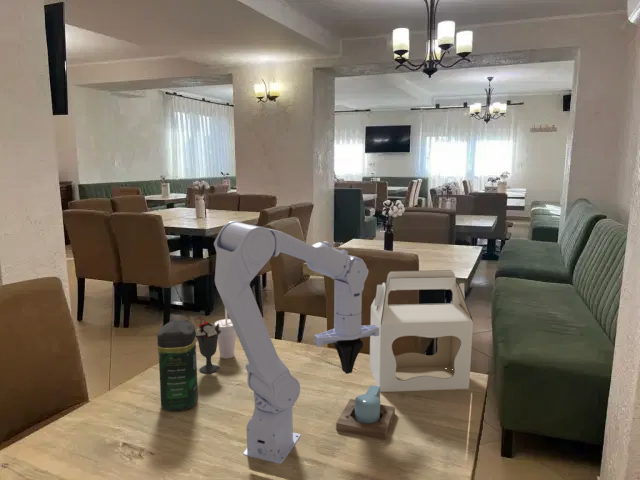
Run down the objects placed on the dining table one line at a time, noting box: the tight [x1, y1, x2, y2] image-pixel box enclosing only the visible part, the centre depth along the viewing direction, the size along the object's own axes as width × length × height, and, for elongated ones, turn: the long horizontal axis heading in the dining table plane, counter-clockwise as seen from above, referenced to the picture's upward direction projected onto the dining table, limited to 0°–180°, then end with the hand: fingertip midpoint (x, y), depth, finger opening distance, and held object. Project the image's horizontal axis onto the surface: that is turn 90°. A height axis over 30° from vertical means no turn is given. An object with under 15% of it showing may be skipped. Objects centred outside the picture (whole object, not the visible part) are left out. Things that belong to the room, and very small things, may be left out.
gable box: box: [369, 269, 474, 393], centre depth 114 cm, size 22×13×28 cm, turn 94°
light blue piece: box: [354, 384, 381, 424], centre depth 98 cm, size 9×5×5 cm, turn 159°
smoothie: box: [213, 307, 237, 360], centre depth 128 cm, size 6×6×14 cm
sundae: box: [195, 315, 221, 375], centre depth 120 cm, size 7×7×15 cm
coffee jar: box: [156, 319, 199, 412], centre depth 104 cm, size 10×8×19 cm
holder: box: [335, 398, 396, 441], centre depth 97 cm, size 10×10×2 cm
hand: (347, 371), depth 100 cm, fingers closed
